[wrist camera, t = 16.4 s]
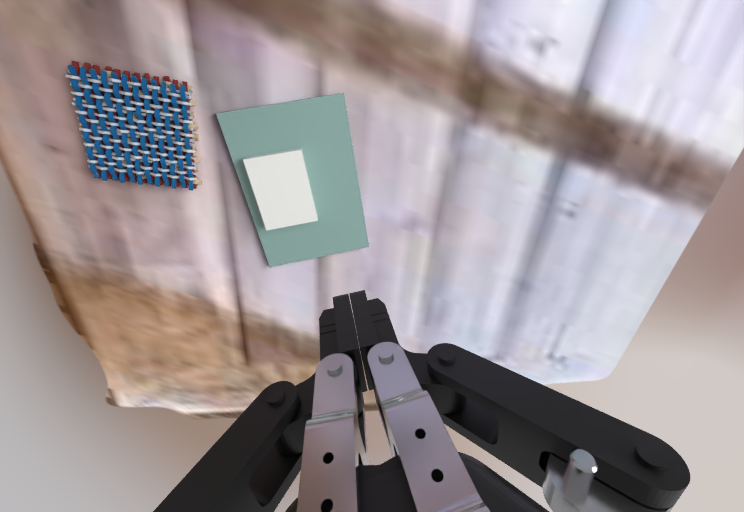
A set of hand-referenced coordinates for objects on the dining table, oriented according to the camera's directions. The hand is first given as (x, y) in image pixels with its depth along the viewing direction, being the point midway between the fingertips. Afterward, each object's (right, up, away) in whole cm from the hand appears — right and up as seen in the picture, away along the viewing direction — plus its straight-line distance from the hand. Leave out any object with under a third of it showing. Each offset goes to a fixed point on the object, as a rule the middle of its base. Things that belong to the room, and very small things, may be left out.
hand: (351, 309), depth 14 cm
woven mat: (-22, +15, +17) cm, 32 cm away
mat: (-7, +11, +22) cm, 25 cm away
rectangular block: (-8, +6, +22) cm, 24 cm away
